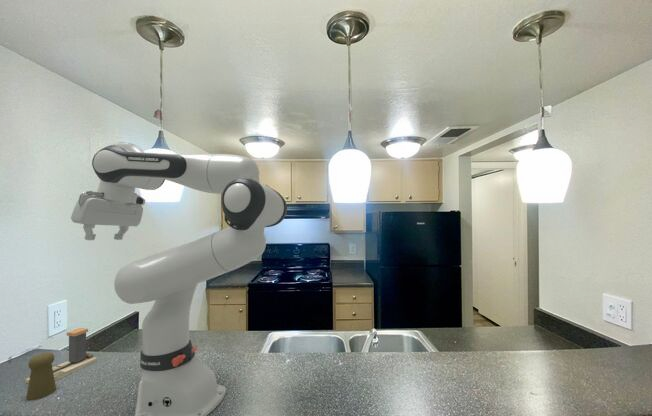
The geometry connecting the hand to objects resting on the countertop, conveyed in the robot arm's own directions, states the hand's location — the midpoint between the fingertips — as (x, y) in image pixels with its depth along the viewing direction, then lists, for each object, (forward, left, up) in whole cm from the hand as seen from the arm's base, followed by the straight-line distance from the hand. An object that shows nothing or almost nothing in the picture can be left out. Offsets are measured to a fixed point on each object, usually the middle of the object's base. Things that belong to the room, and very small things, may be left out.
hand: (104, 239), depth 82 cm
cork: (+16, +7, -44) cm, 47 cm away
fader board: (+24, -3, -43) cm, 49 cm away
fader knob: (+24, -7, -42) cm, 48 cm away
